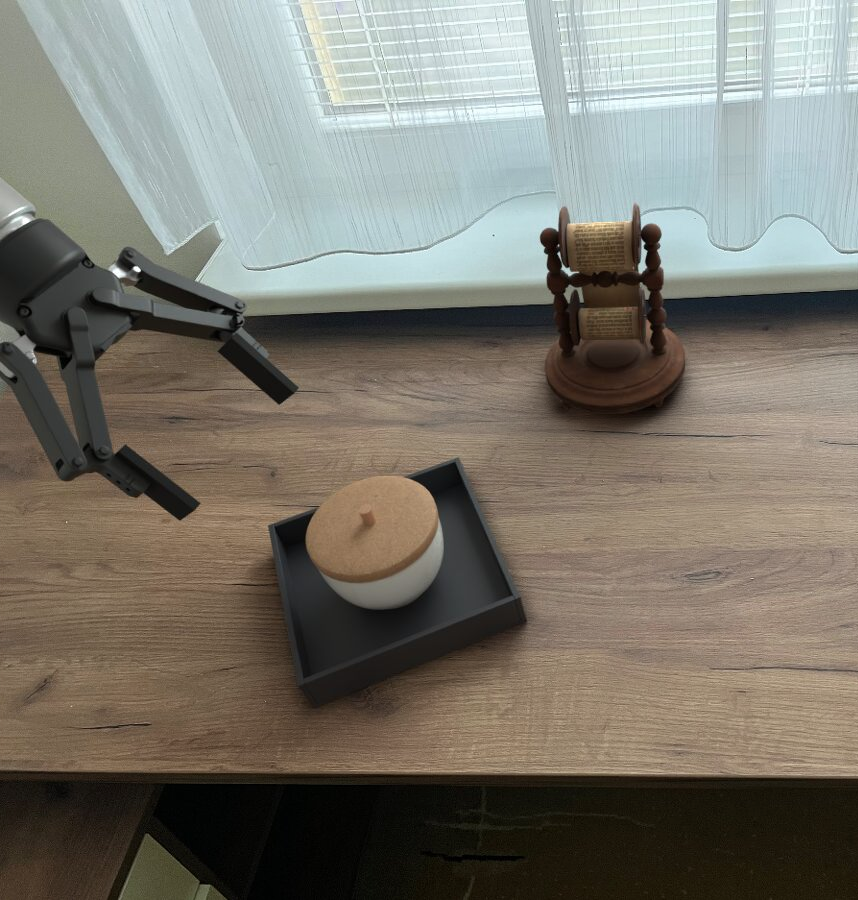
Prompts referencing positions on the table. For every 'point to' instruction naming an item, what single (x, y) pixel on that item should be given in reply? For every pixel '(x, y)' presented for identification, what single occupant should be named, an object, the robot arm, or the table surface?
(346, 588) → the trinket box
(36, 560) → the table surface
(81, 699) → the table surface
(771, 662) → the table surface
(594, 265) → the scroll
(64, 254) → the robot arm
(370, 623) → the tray
